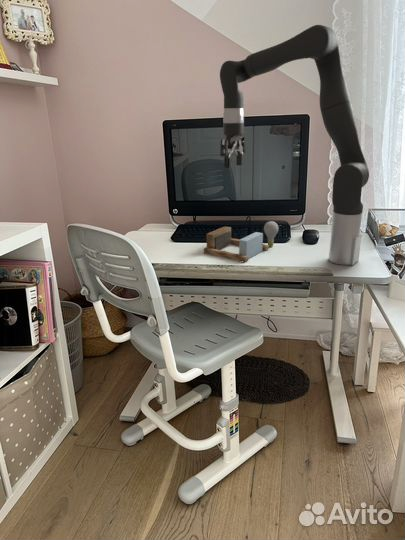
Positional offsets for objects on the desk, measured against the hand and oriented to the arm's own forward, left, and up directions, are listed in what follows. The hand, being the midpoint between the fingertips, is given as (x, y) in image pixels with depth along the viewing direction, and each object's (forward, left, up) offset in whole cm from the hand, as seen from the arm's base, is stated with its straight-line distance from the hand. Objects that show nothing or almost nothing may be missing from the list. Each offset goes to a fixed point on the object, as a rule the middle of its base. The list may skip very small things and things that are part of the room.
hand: (233, 166), depth 162 cm
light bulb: (-17, 0, -29) cm, 34 cm away
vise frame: (-9, +12, -29) cm, 33 cm away
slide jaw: (-15, +12, -29) cm, 35 cm away
